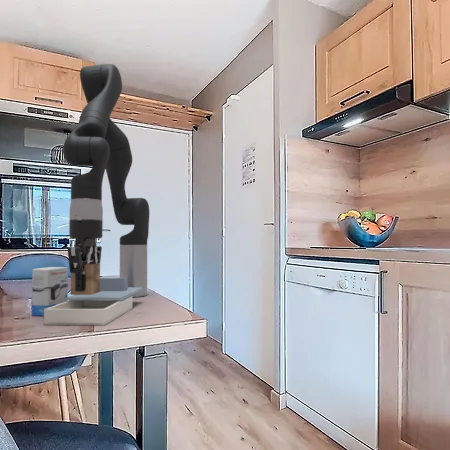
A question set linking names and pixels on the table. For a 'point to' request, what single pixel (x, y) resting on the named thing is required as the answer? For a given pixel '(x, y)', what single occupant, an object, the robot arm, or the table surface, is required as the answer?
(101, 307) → the beige shallow tray
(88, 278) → the parcel
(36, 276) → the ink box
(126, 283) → the lid
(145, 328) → the table surface
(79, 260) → the robot arm
